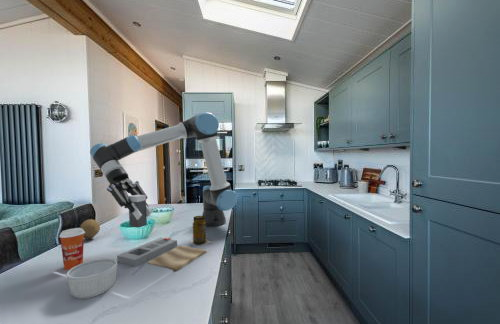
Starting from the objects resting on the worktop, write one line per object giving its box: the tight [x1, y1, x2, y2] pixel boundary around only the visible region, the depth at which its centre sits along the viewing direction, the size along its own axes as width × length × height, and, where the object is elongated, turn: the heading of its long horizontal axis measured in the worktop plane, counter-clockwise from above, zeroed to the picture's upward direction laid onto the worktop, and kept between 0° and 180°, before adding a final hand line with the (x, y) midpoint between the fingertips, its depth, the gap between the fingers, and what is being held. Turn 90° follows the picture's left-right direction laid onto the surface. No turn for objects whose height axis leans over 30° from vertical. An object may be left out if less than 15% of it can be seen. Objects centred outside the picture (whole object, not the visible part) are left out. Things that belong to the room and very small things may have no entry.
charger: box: [128, 194, 148, 228], centre depth 96 cm, size 4×5×12 cm
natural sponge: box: [79, 218, 101, 240], centre depth 122 cm, size 9×9×10 cm
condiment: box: [189, 215, 212, 246], centre depth 114 cm, size 7×8×12 cm
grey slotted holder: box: [116, 236, 178, 268], centre depth 101 cm, size 22×10×4 cm, turn 154°
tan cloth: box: [147, 244, 207, 272], centre depth 97 cm, size 18×14×1 cm
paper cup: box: [59, 227, 85, 271], centre depth 90 cm, size 8×8×14 cm
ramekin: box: [66, 257, 118, 299], centre depth 75 cm, size 13×13×7 cm
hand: (144, 215), depth 94 cm, fingers closed on charger, 4 cm apart
